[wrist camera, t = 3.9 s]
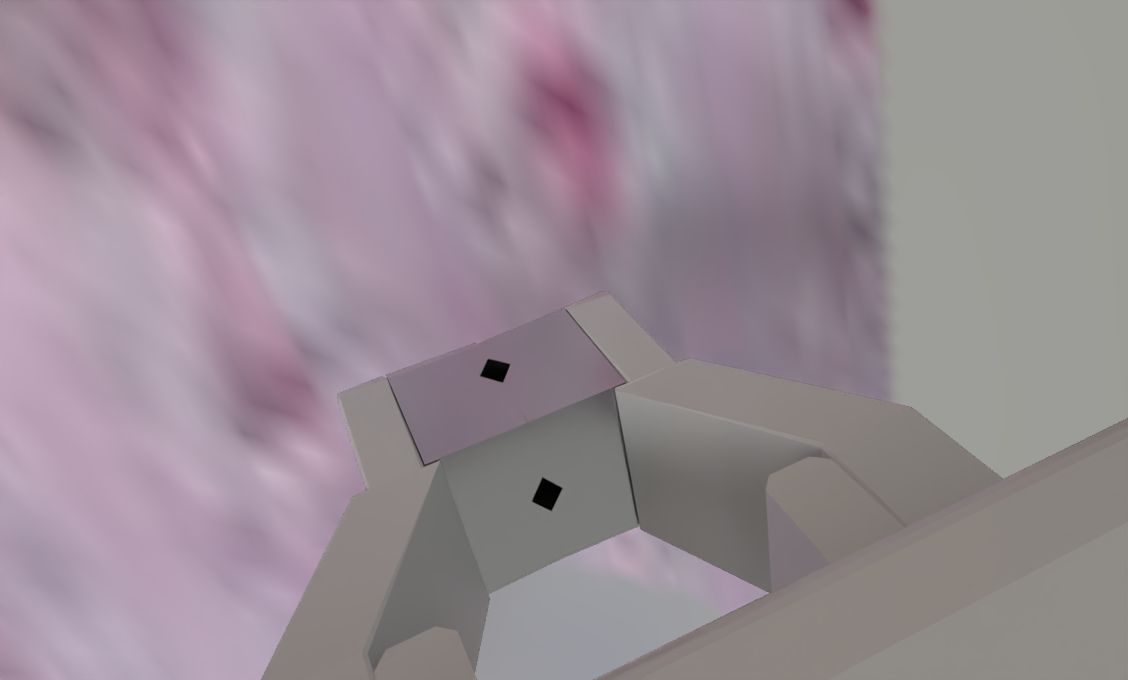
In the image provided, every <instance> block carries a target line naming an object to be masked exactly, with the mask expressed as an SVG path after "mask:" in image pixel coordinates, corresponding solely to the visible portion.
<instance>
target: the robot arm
mask: <svg viewBox="0 0 1128 680" xmlns="http://www.w3.org/2000/svg"><path fill="white" fill-rule="evenodd" d="M386 377H387V379H386V378H385V377H383V376H381V377H378V378H376V379H373V380H371V381H368V382H366V383H363V384H360V385H358V386H355V387H353V388H350V389H348V390H345V391H342V392H340V393H338V404H339V407H340V410H341V413H342V416H343V419H344V422H345V425H346V429H347V432H348V435H349V438H350V441H351V444H352V447H353V450H354V453H355V457H356V460H357V463H358V466H359V469H360V472H361V475H362V478H363V481H364V484H365V488H366V491H364V492H362V493H360V494H357V495H355V496H353V497H352V498H351V500H350V502H349V504H348V506H347V508H346V510H345V512H344V514H343V516H342V518H341V520H340V522H339V524H338V526H337V528H336V530H335V532H334V534H333V536H332V538H331V540H330V542H329V544H328V546H327V548H326V550H325V552H324V554H323V556H322V558H321V560H320V562H319V564H318V566H317V568H316V570H315V572H314V574H313V576H312V578H311V580H310V582H309V584H308V586H307V588H306V590H305V592H304V594H303V596H302V598H301V600H300V602H299V604H298V606H297V608H296V610H295V612H294V614H293V616H292V618H291V620H290V622H289V624H288V626H287V628H286V630H285V632H284V634H283V636H282V638H281V640H280V642H279V644H278V646H277V648H276V650H275V652H274V654H273V656H272V658H271V660H270V662H269V664H268V666H267V668H266V670H265V672H264V674H263V676H262V678H261V680H477V679H476V676H475V670H476V665H477V660H478V655H479V650H480V645H481V640H482V635H483V630H484V626H485V621H486V616H487V611H488V605H489V600H490V598H489V595H488V594H490V593H492V592H494V591H496V590H498V589H500V588H502V587H504V586H506V585H508V584H510V583H512V582H514V581H516V580H519V579H521V578H523V577H525V576H527V575H529V574H531V573H533V572H535V571H537V570H539V569H541V568H543V567H546V566H548V565H550V564H552V563H554V562H556V561H558V560H560V559H562V558H564V557H567V556H569V555H571V554H574V553H576V552H579V551H581V550H583V549H586V548H588V547H590V546H593V545H595V544H598V543H600V542H602V541H605V540H607V539H609V538H612V537H614V536H617V535H619V534H621V533H624V532H626V531H628V530H631V529H633V528H636V527H638V526H640V529H641V530H643V531H645V532H647V533H649V534H651V535H653V536H655V537H657V538H659V539H661V540H663V541H665V542H667V543H669V544H671V545H673V546H676V547H678V548H680V549H682V550H684V551H686V552H688V553H690V554H692V555H694V556H696V557H698V558H700V559H702V560H704V561H706V562H708V563H710V564H712V565H714V566H716V567H718V568H720V569H722V570H724V571H726V572H728V573H730V574H732V575H735V576H737V577H739V578H741V579H743V580H745V581H747V582H749V583H751V584H753V585H755V586H757V587H759V588H761V589H763V590H765V591H767V592H769V594H767V595H765V596H763V597H761V598H759V599H757V600H755V601H753V602H751V603H749V604H747V605H745V606H743V607H741V608H739V609H737V610H735V611H733V612H730V613H728V614H726V615H724V616H722V617H720V618H718V619H716V620H714V621H712V622H710V623H708V624H706V625H704V626H702V627H700V628H698V629H696V630H694V631H692V632H690V633H688V634H686V635H684V636H682V637H680V638H677V639H676V640H674V641H672V642H669V643H667V644H665V645H663V646H661V647H659V648H657V649H655V650H653V651H651V652H649V653H647V654H645V655H643V656H641V657H639V658H637V659H635V660H633V661H631V662H629V663H626V664H624V665H622V666H621V667H618V668H616V669H614V670H612V671H610V672H608V673H606V674H604V675H602V676H600V677H598V678H596V679H594V680H1128V418H1127V419H1125V420H1123V421H1121V422H1119V423H1117V424H1115V425H1113V426H1111V427H1109V428H1107V429H1105V430H1103V431H1100V432H1098V433H1096V434H1094V435H1092V436H1090V437H1088V438H1086V439H1084V440H1082V441H1080V442H1078V443H1076V444H1074V445H1072V446H1070V447H1068V448H1066V449H1064V450H1062V451H1060V452H1058V453H1056V454H1054V455H1052V456H1050V457H1047V458H1045V459H1044V460H1041V461H1039V462H1037V463H1035V464H1033V465H1031V466H1029V467H1027V468H1025V469H1023V470H1021V471H1019V472H1017V473H1015V474H1013V475H1011V476H1009V477H1007V478H1005V479H1003V478H1002V477H1000V476H999V475H998V474H996V473H995V472H994V471H993V470H991V469H990V468H989V467H988V466H986V465H985V464H984V463H982V462H981V461H980V460H978V459H977V458H976V457H975V456H973V455H972V454H971V453H970V452H968V451H967V450H966V449H964V448H963V447H962V446H961V445H959V444H958V443H957V442H955V441H954V440H953V439H952V438H950V437H949V436H948V435H947V434H945V433H944V432H943V431H942V430H940V429H939V428H938V427H936V426H935V425H934V424H933V423H931V422H930V421H929V420H928V419H926V418H925V417H924V416H922V415H921V414H920V413H919V412H917V411H916V410H915V409H913V408H912V407H908V406H904V405H899V404H895V403H891V402H886V401H882V400H877V399H873V398H868V397H864V396H859V395H855V394H850V393H846V392H841V391H837V390H832V389H828V388H823V387H819V386H814V385H810V384H805V383H801V382H796V381H792V380H787V379H783V378H778V377H774V376H769V375H765V374H760V373H756V372H751V371H747V370H742V369H738V368H733V367H729V366H724V365H720V364H715V363H711V362H706V361H702V360H697V359H693V358H688V359H685V360H683V361H680V362H678V363H677V362H676V361H675V360H674V359H673V358H672V357H671V356H670V355H669V354H668V353H667V352H666V351H665V349H664V348H663V347H662V346H661V345H660V344H659V343H658V342H657V341H656V340H655V339H654V338H653V337H652V336H651V335H650V334H649V333H648V332H647V331H646V330H645V329H644V328H643V327H642V326H641V325H640V324H639V323H638V322H637V321H636V320H635V319H634V318H633V317H632V316H631V315H630V314H629V313H628V312H627V311H626V310H625V309H624V308H623V306H622V305H621V304H620V303H619V302H618V301H617V300H616V299H615V298H614V297H613V296H612V295H611V294H610V293H607V292H603V291H601V292H599V293H597V294H594V295H592V296H590V297H587V298H585V299H582V300H580V301H578V302H575V303H573V304H571V305H568V306H566V307H564V308H561V310H558V311H556V312H553V313H551V314H548V315H546V316H543V317H541V318H538V319H536V320H534V321H531V322H529V323H526V324H524V325H521V326H519V327H516V328H514V329H511V330H509V331H506V332H504V333H502V334H499V335H497V336H494V337H492V338H489V339H487V340H484V341H482V342H479V343H473V344H470V345H468V346H465V347H462V348H459V349H456V350H454V351H451V352H448V353H445V354H443V355H440V356H437V357H434V358H432V359H429V360H426V361H423V362H420V363H418V364H415V365H412V366H409V367H407V368H404V369H401V370H398V371H396V372H393V373H390V374H387V375H386ZM387 380H388V381H387Z"/></svg>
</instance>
